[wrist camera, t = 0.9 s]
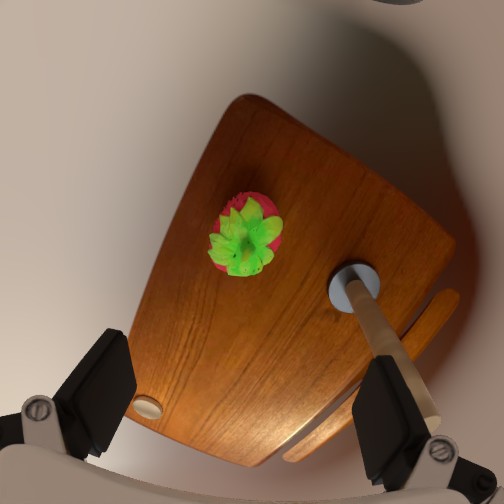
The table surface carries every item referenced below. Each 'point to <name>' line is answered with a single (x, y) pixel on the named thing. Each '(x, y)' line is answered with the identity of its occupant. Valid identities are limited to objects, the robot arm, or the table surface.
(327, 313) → the table surface
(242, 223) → the strawberry
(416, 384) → the post
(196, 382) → the table surface
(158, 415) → the puck
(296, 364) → the table surface
